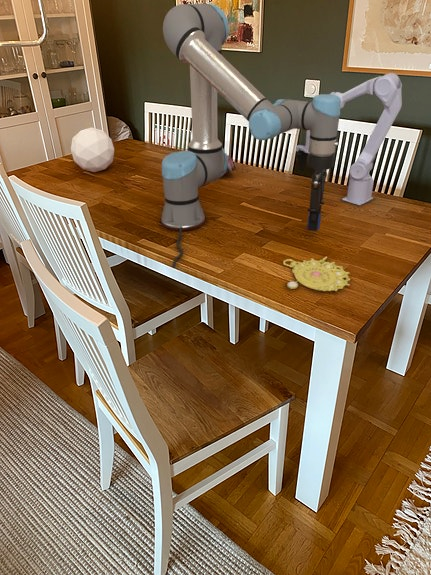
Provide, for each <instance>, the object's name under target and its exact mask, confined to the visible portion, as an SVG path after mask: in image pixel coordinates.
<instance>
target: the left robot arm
mask: <svg viewBox="0 0 431 575" xmlns="http://www.w3.org/2000/svg"><path fill="white" fill-rule="evenodd" d="M162 23H163V25H162V35H163V39H164V41H165V43H166V46H167V47H168V49H169V50H170V51H171V53H172V54H173V55H174V56H175V57H176V58H177V59H178V60H179V61H180V62H181V63H182V64H188V65H189V73H190V74H189V77H190V78H189V79H190V83H189V84H190V104H191V105H190V106H191V129H192V130H191V132H192V134H191V135H192V139H191V140H190V142H189V143H188V145H187V146H188V150H179V151H174V152H171V153H169V154H167V155H166V156H164V157H163V159H162V161H161V176H162V186H163V194H164V204H163V207H162V210H161V212H162V213H161V219H160V220H161V225H162V227H163V228H165V229H167V230H170V231H175V232H176V231H177V232H178V237H177V241H176V247H177V249H178V250H179V254H178V255H177V256H176V257H174V259H173V261H172V266H171V268H172V269H175V268H176V263H177V261H178V260H179V259H181V257H183V255H184V251H183V248H181V246H180V242H181V238H182V235H183V234H182V233H183V232H185V231H186V232H187V231H192V230H195V229H198V228H201V227H202V226H203V225H204V224H205V223H206V215H205V212H204V210H203V208H202V204H201V202H200V196H199V189H200V188H202V187H204V186H206V185H208V184H210V183H214V182H215V181H218V180H219V179H220V178H222V177H223V176H224V175H226V174H225V172H226V170H227V168H228V156H227V155H228V154H227V153H226V150H225V149H224V147H223V143H222V142H221V140H220V139H219V138H218V94H219V95H221V96H222V97H223V99H225V100H226V102H228V103H229V104H230V105H231V106H232V107H233V108H234V109H235V110H236V111H237V112H238V113H239V114H240V115H241V116H242V117H243V118H244V119H245V120H246V121H247V122H248V129H249V132H250V134H251V136H252V137H253V138H254V139H256V140H257V141H258V140H259V141H266V140H271V139H274V138H276V137H277V136H279V135H281V134H284V133H286V132H290V131H291V130H302V131H303V130H304V131H307V130H310V138H309V149H308V151H309V152H310V153H308V156H307V162H306V166H307V167H308V168H310V169H312V170H313V172H312V173H311V182H310V196H309V197H310V199H309V208H307V212H308V213H310V216H309V226H308V228H307V231H310V232H318V230H317V227H318V218H319V214H321V215H322V205H323V206H325V201H323V200H324V191H325V185H326V179H327V175H328V172H327V170H331V169H333V167H334V164H335V156H336V155H335V152H336V148H337V146H339V142H338V141H337V138H338V131H339V130H338V129H339V125H340V124H339V123H340V118H341V117H340V116H341V109H340V104H341V100H340V98H339V97H338V96H336V95H331V94H330V93H328V94H325V93H321V94H317V95H315V96H313V99H312V101H306V100H305V101H304V100H297V99H290V98H280V99H277V100H275V102H274V103H272V102H271V101H270V100H269V99H267V98H266V97H265V96H264V95H263V94H262V93H261V92H260V91H259V90H258V89H257V88H256V86H254V85H253V84H252V83H251V82H250V81H249V80H248V79H247V78H246V77H245V76H244V75H243V74H241V72H240V71H239V70H238V69H236V68H235V67H234V65H232V64H231V63H230V62H229V61H228V60H227V58H225V57H224V56H223V45H225V43H226V41H227V40H228V39H229V35H230V24H229V20H228V17H227V15H226V13H225V12H224V11H223V10H222V8H221V7H219V6H218V5H216V4H213V3H212V4H211V3H205V2H204V3H189V4H187V3H186V4H185V3H183V4H182V3H181V4H178V5H177V4H176V5H175V6H173V7H172V8H171V9H169V11H168V12H166V15H165V16H164V20H163V22H162Z"/></svg>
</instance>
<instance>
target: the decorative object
mask: <svg viewBox="0 0 431 575" xmlns="http://www.w3.org/2000/svg"><path fill="white" fill-rule="evenodd" d="M327 259H328V256H326V255H325V256H324V257H323V258H322V259H320V260H315V259H314V258H312V257H311V258H310V260H302V261H303V262H301V261H295V260H294V259H291V258H285V260H283V262H282V264H283V265H284V266H286V267H289V268H292V269H291V272H292V274H293V275H294V278H295V281H292V280H290V281H288V282H287V283H286V286H287V288H288V289H291V290H295V289H298V287H299V284H301V285H303V286H304V287H306V288H309V289H311V290H315V291H321V292H332V291H335V292H338V290H343V288H344V287H346V286H348V287H349V286H350V283H348V282H349V281H351V278H350V277H349V275H350V274H351V272H349V271H345V270H344V267H343V266H341V265H340V266H339V265H338V264H336V262H335V261H332V262H329V261H326V260H327ZM286 262H290V264H287V263H286Z"/></svg>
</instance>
